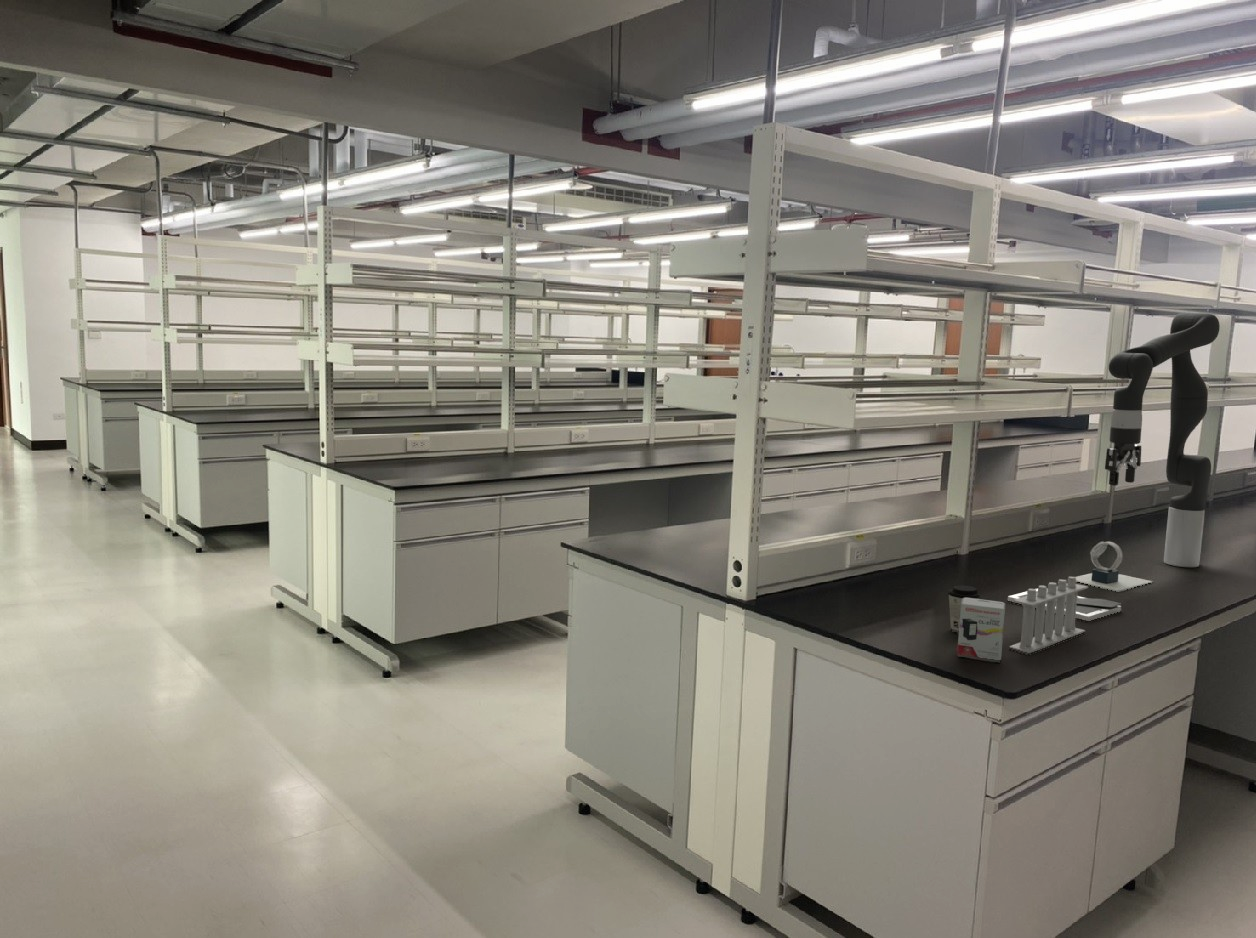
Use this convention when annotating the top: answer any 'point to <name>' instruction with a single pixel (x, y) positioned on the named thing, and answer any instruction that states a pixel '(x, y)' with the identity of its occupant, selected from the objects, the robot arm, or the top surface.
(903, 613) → the top surface
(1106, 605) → the picture frame
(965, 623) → the ink box
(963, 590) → the coffee cup
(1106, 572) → the watch
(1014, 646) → the test tube rack
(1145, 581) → the mat
